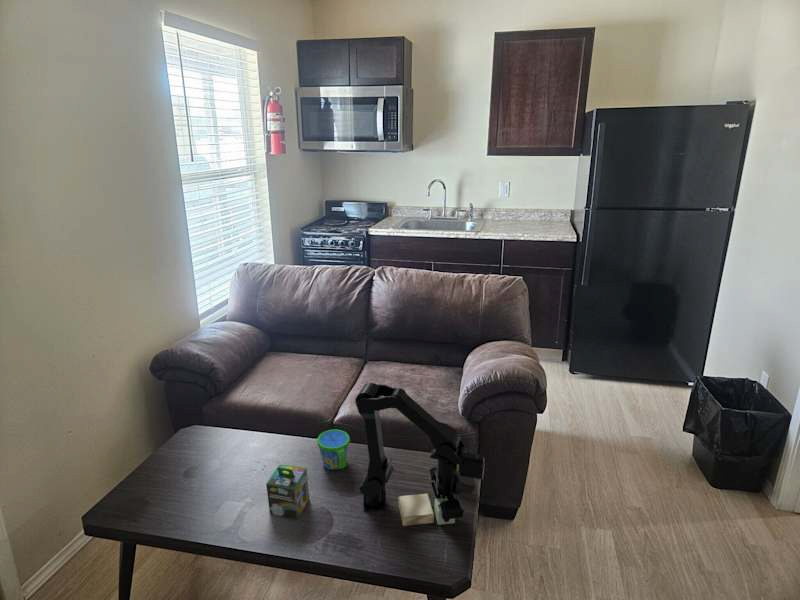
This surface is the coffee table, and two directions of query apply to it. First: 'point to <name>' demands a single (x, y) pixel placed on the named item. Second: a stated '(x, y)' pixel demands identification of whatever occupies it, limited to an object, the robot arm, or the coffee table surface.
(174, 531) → the coffee table surface
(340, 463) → the snack cup
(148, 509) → the coffee table surface
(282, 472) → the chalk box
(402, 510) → the oak riser block
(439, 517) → the sage cube
